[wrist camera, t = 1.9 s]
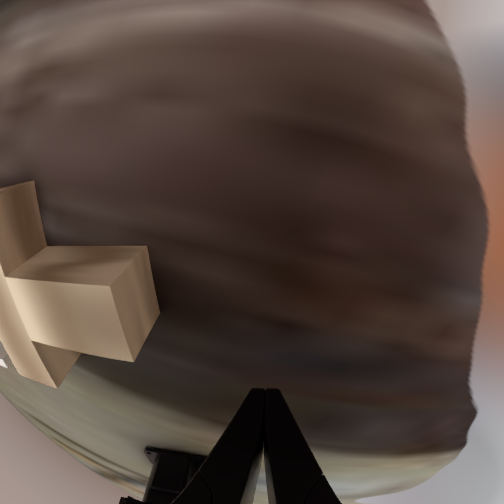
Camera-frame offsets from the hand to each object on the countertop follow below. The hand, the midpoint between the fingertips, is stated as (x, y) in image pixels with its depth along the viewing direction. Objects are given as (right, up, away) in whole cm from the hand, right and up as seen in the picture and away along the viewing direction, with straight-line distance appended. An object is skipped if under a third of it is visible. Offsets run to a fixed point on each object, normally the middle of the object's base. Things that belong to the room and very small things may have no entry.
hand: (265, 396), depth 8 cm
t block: (-11, +3, +7) cm, 13 cm away
